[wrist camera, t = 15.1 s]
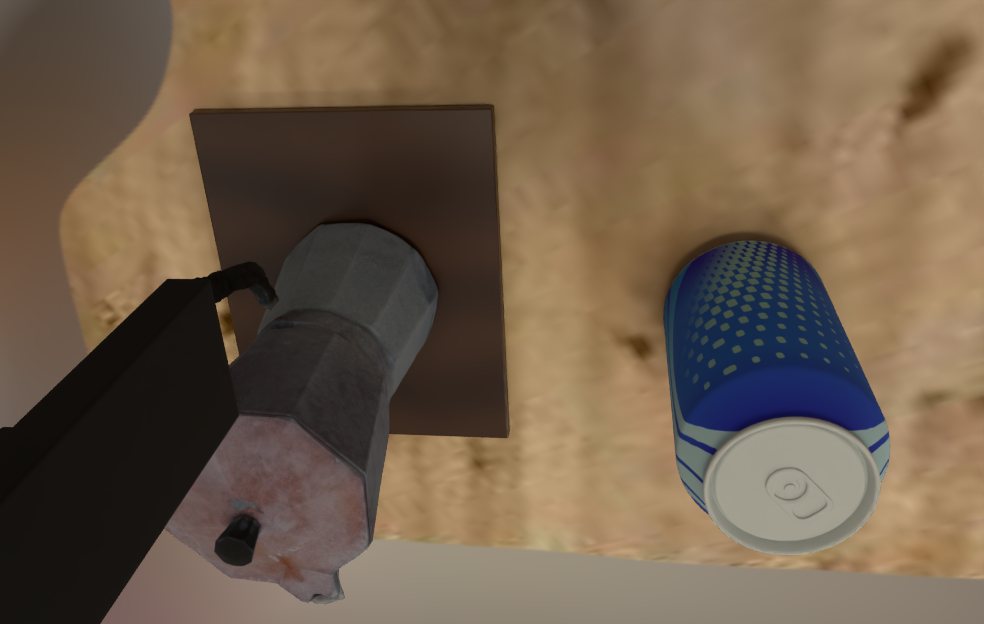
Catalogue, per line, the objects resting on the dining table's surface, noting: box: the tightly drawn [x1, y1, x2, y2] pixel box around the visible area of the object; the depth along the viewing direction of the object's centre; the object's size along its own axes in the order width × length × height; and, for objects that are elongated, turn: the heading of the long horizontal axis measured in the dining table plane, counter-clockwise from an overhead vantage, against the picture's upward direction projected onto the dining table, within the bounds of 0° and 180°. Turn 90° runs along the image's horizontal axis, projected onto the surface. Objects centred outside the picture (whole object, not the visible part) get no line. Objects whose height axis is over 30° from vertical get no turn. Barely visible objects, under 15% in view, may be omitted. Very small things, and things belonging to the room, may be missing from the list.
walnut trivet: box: [189, 105, 510, 438], centre depth 50 cm, size 20×16×1 cm
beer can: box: [664, 241, 890, 555], centre depth 41 cm, size 8×8×16 cm
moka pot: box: [164, 223, 438, 604], centre depth 41 cm, size 10×15×20 cm, turn 26°
